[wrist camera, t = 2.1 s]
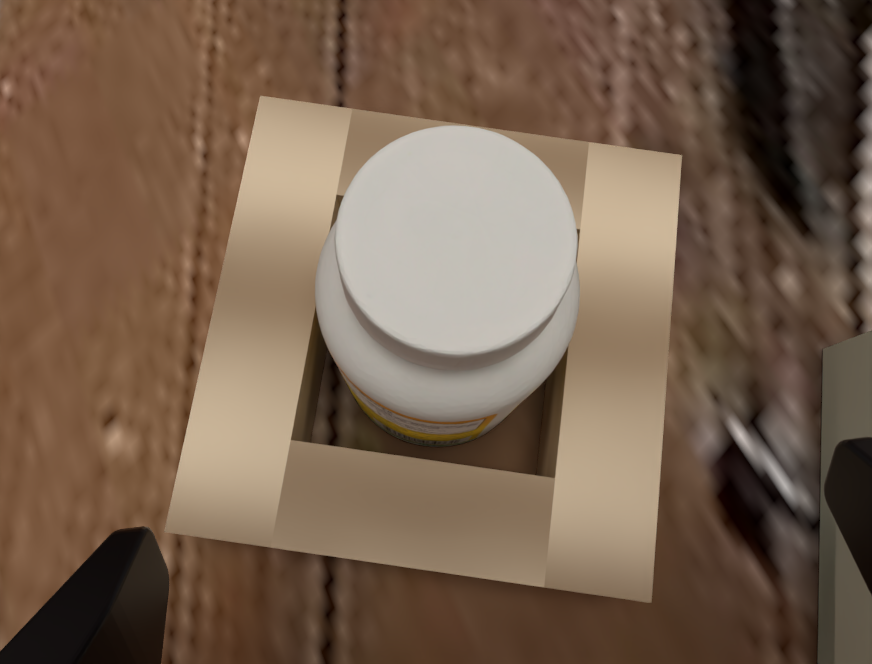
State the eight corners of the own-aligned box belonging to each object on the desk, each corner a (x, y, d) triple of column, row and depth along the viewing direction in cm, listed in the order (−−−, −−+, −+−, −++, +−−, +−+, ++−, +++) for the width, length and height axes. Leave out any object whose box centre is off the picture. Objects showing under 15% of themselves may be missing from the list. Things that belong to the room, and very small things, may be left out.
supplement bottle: (403, 483, 20) (390, 467, 11) (311, 322, 21) (228, 179, 12) (565, 387, 21) (684, 294, 12) (469, 235, 22) (508, 36, 13)
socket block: (616, 587, 20) (651, 603, 17) (201, 527, 20) (164, 532, 17) (647, 200, 22) (681, 155, 19) (280, 148, 22) (260, 95, 19)
